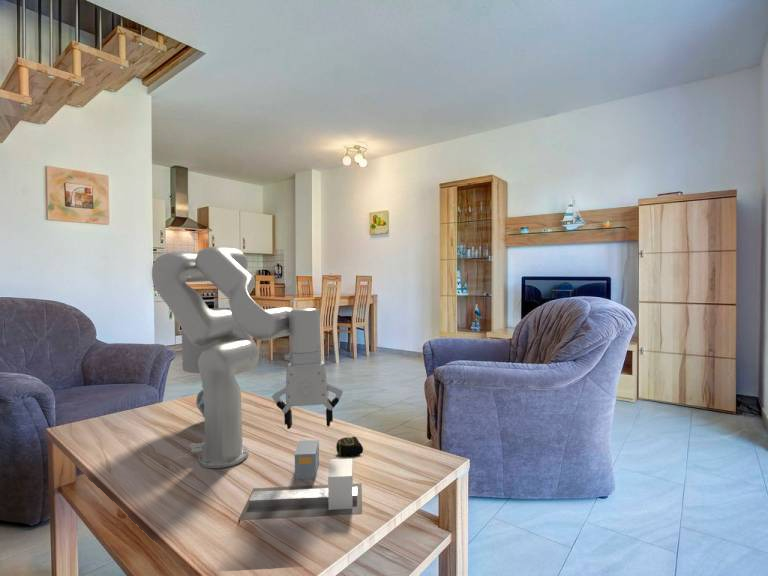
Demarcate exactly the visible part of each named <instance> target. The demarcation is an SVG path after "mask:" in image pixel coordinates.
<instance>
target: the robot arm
mask: <svg viewBox="0 0 768 576" xmlns="http://www.w3.org/2000/svg"><path fill="white" fill-rule="evenodd" d="M247 269H248V259H247V257H246V255H245V254H244V253H243V251H241V250H239V249H238V248H235V247H225V246H223V247H222V246H208V247H205V248H202V249H201V250H200V251H199V252H186V251H183V252H182V251H172V252H166V253H163V254H161V255H159V256H158V257H156V259H155V260H154V262H153V263H152V269H151V278H152V284H153V285H154V289H155V291H156V292H157V294H158V295H159V297H160V298H161V299H162V300H163V302H164V303H165V304H166V306H167V307H168V308H169V309H170V311H171V312H172V315H173V316H174V318H175V320H176V321H177V323H178V325H179V326H180V328H181V331H182V330H183V331H184V333H185V335H186V336H187V338H188V339H189V341H190V342H191V343H192V344H194V345H196V346H204V345H209V344H214V343H218V342H221V343H220V344H216V345H213V346H210V347H208V348H207V349H205V350H204V351H203V352H202V353H201V355H200V357H199V361H198V366H199V371H200V373H199V375H200V379H201V386H202V385H203V387H202V390H203V396H204V416H203V419H204V421H205V423H204V441H203V442H202V443H199V442H196V443H195V442H194V443H193V442H192V443H190V446H189V448H190V449H189V451H191V454H194V455H195V454H200V456H199V457H198V458H199V459H198V460H199V465H200V466H202V467H204V468H207V469H222V468H223V469H224V468H228V467H232V466H234V465H238V464H241V463H242V462H243V461H244V460H246V459H247V458H248V457H249V448H248V447H247V446H245V445H243V417H242V415H243V412H242V410H243V409H242V392H241V391H242V390H241V387H240V385H239V383H238V381H237V380H236V378H235V376H236V375H240V374H242V373H245V372H248V371H250V370H252V369H254V368H255V367H256V366H257V365H258V363H259V360H260V352H259V351H260V350H259V348H258V345H257V344H256V342H255V340H258V341H270V340H275V339H278V338H283V337H286V336H289V350H290V352H289V353H286V354H285V353H284V360H287V361H289V363H288V364H287V365H286V366H287V368H286V373H285V375H286V377H285V387H283V388H282V389H280V390H277V392H274V393H273V394H272V396H271V398H272V400H273V401H274V403H275V404H276V406H277V407H278V409H280V410H281V411H282V413H283V415H284V418H283V419H284V425H286V428H287V430H290V429H291V428H292V427H293V412H292V411H293V410H292V409H291V408H292V407H304V406H321V405H323V406H324V407H326V410H325V416H326V417H325V418H326V427H330V426H331V423H332V422H333V421H334V420H333V417H334V415H333V409H334V408H335V407H336V405H338V403H339V401H340V399H341V397H342V395H343V390H342V389H341V388H339V387H337V386H334V385H331V384H330V383H329V382H328V374H327V368H326V364H325V361H323V360H322V348H321V347H322V343H321V340H322V339H321V321H320V319H321V318H320V311H319V310H318V309H317V308H315V307H298V308H297V307H289V306H282V307H272V308H265V309H264V308H263V307H262V306H261V305H259V304H258V303H257V302H256V301H255V300H254V299H253V298H252V297H251V296H250V294H252V292H253V290H254V287H255V285H256V279H255V277H254V276H253V275H252V274H251V273H249V272H248V270H247ZM197 282H202V283H203V282H210V283H211V284H212V285H213V286H214V287H216V289H217V290H218V291H219V292H221V294H222V295H224V296H225V297H226V298H227V299H228V306H229V307H228V308H230V310H227V309H218V310H211V309H210V308H209V306H208V305H207V303H206V302H205V301H204V298H203V297H202V296H201V294H200V293H199V292H198V291H196V289H194V288H192V287H191V286H189V285H188V284H187V283H197ZM253 338H254V339H255V340H254V339H253ZM329 392H331V393H333V394H335V396H334V398H333V399H332V400H331V399H330V398H329ZM284 395H285V402H286V403H285V402H284V401H283V400H282V398H281V397H283V396H284Z"/></svg>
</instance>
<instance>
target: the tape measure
mask: <svg viewBox="0 0 768 576" xmlns="http://www.w3.org/2000/svg"><path fill="white" fill-rule="evenodd" d="M335 445H336V449H335V450H336V452H337V454H338V455H339V456H341V457H344V458H351V457H354V456H359V455H361V454H362V453H363V451H364V446H363V444H362V443H361V442H360V441H359V439H358V438H357V437H356V436H351V437H349V436H347V437H342V438H339V439H338V440H337V442H336V444H335Z"/></svg>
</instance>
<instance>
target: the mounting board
mask: <svg viewBox="0 0 768 576" xmlns="http://www.w3.org/2000/svg"><path fill="white" fill-rule="evenodd" d="M353 487H357V502H353V509H333V510H329V504H311V505H290V506H270V507H249V499H250V497H251V495H252V493H253V492H257V491H279V490H300V489H322V488H328V484H318V485H317V484H316V485H298V486H297V485H296V486H295V485H294V486H277V487H276V486H273V487H256V488H255V487H253V488H252V491H251V492H250V494H249V496H248V498H247V501H246V503H245V506H244V507H243V509H242V511H241V514H240V516H239V517H238V519H237V520H238V521H237V522H238V525H240V523H241V521H249V520H251V521H252V520H270V519H272V520H273V519H286V518H287V519H288V518H289V519H290V518H306V517H307V518H309V517H326V516H327V517H329V516H332V517H333V516H347V515H348V516H349V515H362V514H363V496H362V495H363V493H362V492H363V489H362V488H363V486H362V483H359V482H357V483H353Z"/></svg>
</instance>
